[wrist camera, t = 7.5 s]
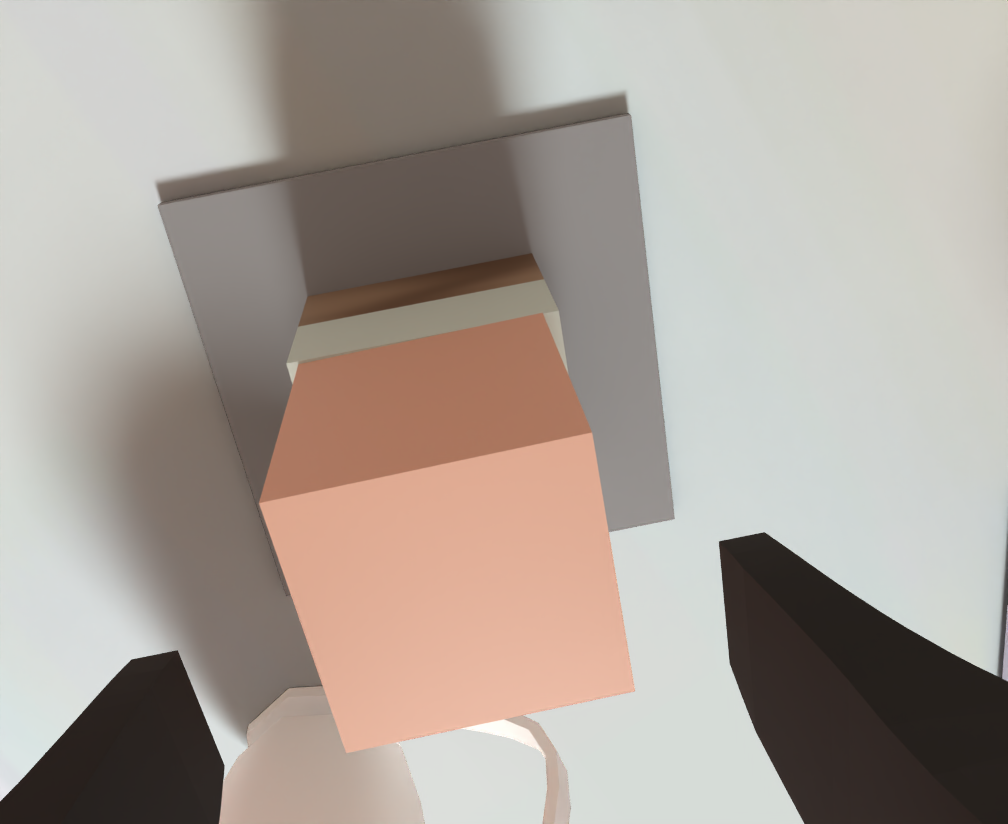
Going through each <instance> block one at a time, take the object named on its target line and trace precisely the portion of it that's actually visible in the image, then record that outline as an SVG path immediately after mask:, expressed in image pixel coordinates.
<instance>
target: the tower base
mask: <svg viewBox="0 0 1008 824" xmlns="http://www.w3.org/2000/svg"><path fill="white" fill-rule="evenodd" d="M542 279H544V278H543V276H542V274H541V272H540V269H539V267H538V265H537V263H536V261H535V259H534V257H533V254H532V253H530V254H525V255H520V256H515V257H510V258H504V259H499V260H494V261H489V262H484V263H479V264H473V265H468V266H463V267H458V268H453V269H448V270H442V271H437V272H432V273H427V274H422V275H417V276H411V277H406V278H401V279H396V280H391V281H385V282H380V283H375V284H370V285H365V286H360V287H354V288H349V289H344V290H339V291H334V292H329V293H323V294H318V295H313V296H308V297H307V300H306V303H305V306H304V309H303V312H302V316H301V319H300V322H299V325H298V327H299V326H305V325H310V324H315V323H320V322H325V321H330V320H336V319H341V318H346V317H351V316H356V315H361V314H367V313H372V312H377V311H382V310H387V309H392V308H398V307H403V306H408V305H413V304H418V303H423V302H429V301H434V300H439V299H444V298H449V297H454V296H459V295H465V294H470V293H475V292H480V291H485V290H490V289H496V288H501V287H506V286H511V285H516V284H521V283H527V282H532V281H537V280H542Z"/></svg>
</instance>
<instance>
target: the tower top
mask: <svg viewBox="0 0 1008 824" xmlns="http://www.w3.org/2000/svg"><path fill="white" fill-rule="evenodd" d="M539 313H543V315H544V317H545V320H546V322H547V325H548V327H549V329H550V332H551V334H552V337H553V339H554V341H555V344H556V346H557V349H558V351H559V354H560V356H561V358H562V361H563V363H564V366H565V368H566V370H567V373H568V368H567V361H566V355H565V348H564V342H563V335H562V329H561V322H560V316H559V310H558V308H557V306H556V304H555V302H554V299H553V297H552V295H551V293H550V291H549V289H548V287H547V284H546V282H545V280H544V279H542V280H537V281H532V282H527V283H521V284H516V285H511V286H506V287H501V288H496V289H490V290H485V291H480V292H475V293H470V294H465V295H459V296H454V297H449V298H444V299H439V300H434V301H429V302H423V303H418V304H413V305H408V306H403V307H398V308H392V309H387V310H382V311H377V312H372V313H367V314H361V315H356V316H351V317H346V318H341V319H336V320H330V321H325V322H320V323H315V324H310V325H305V326H299V327H298V328H297V331H296V335H295V338H294V341H293V344H292V347H291V350H290V353H289V357H288V360H287V363H286V364H287V368H288V371H289V374H290V378H291V381H292V385H293V382H294V378H295V375H296V371H297V368H298V364H302V363H307V362H312V361H316V360H321V359H326V358H331V357H335V356H340V355H345V354H350V353H354V352H359V351H364V350H368V349H373V348H378V347H383V346H387V345H392V344H397V343H402V342H406V341H411V340H416V339H420V338H425V337H430V336H435V335H439V334H444V333H449V332H454V331H458V330H463V329H468V328H472V327H477V326H482V325H487V324H491V323H496V322H501V321H506V320H510V319H515V318H520V317H525V316H529V315H534V314H539ZM568 375H569V374H568Z"/></svg>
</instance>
